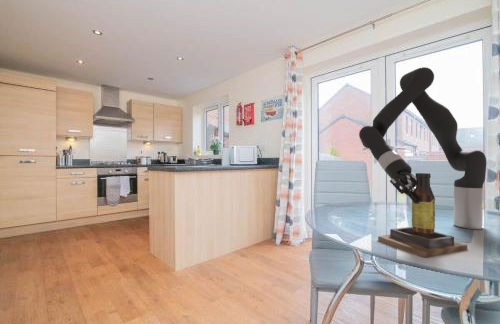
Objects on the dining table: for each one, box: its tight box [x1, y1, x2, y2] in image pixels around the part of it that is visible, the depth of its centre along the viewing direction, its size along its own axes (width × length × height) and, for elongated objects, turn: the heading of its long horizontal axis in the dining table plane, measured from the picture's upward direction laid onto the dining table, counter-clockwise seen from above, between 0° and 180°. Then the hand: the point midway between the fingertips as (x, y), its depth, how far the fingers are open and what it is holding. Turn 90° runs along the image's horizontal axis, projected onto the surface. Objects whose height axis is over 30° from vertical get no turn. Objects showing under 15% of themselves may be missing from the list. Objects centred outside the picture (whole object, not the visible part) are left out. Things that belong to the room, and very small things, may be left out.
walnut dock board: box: [377, 225, 468, 259], centre depth 80 cm, size 20×16×4 cm
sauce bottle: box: [411, 172, 436, 234], centre depth 79 cm, size 6×6×20 cm
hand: (425, 201), depth 78 cm, fingers closed on sauce bottle, 6 cm apart
